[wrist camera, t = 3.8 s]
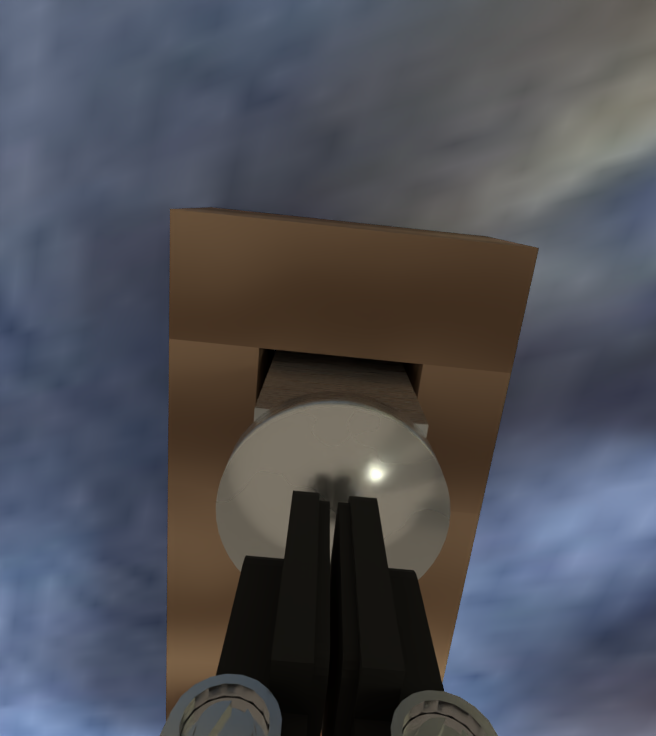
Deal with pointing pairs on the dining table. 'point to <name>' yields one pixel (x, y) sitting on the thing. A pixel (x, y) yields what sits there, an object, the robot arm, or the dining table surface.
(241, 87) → the dining table surface
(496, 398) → the plug block
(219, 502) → the plug
